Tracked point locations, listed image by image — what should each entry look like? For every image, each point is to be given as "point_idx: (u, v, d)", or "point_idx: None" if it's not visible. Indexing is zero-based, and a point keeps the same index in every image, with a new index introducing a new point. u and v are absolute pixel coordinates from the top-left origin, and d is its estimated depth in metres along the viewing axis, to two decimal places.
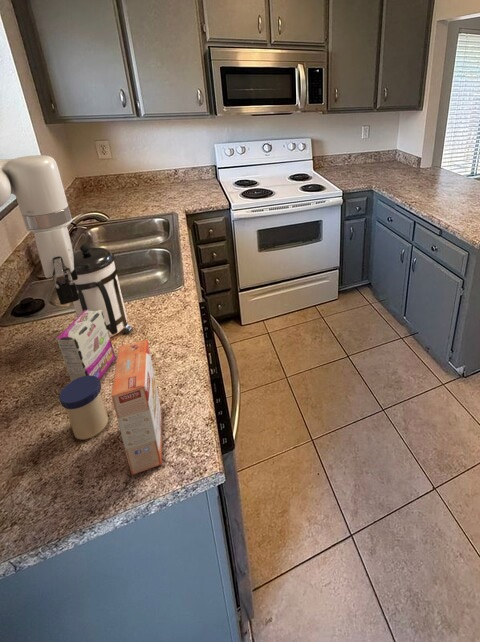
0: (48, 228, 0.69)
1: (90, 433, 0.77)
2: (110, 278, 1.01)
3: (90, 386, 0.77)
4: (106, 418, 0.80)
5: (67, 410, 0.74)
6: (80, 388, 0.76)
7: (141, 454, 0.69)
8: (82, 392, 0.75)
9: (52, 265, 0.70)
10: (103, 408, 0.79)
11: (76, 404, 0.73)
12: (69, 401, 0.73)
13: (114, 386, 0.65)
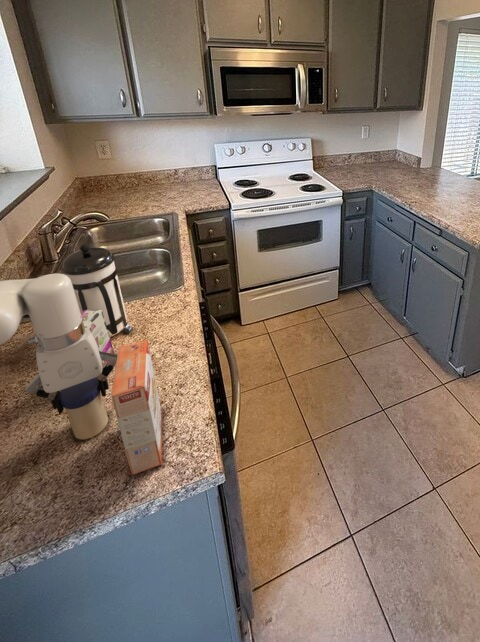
0: (85, 330, 0.73)
1: (90, 433, 0.77)
2: (110, 278, 1.01)
3: (90, 386, 0.77)
4: (106, 418, 0.80)
5: (67, 410, 0.74)
6: (80, 388, 0.76)
7: (141, 455, 0.69)
8: (82, 392, 0.75)
9: (100, 358, 0.76)
10: (103, 408, 0.79)
11: (76, 404, 0.73)
12: (69, 401, 0.73)
13: (114, 386, 0.65)
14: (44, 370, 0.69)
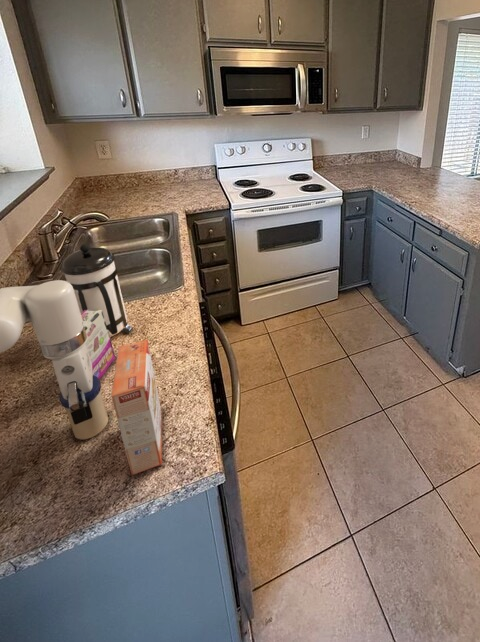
0: None
1: (90, 433, 0.77)
2: (110, 278, 1.01)
3: None
4: (106, 418, 0.80)
5: (67, 410, 0.74)
6: None
7: (141, 455, 0.69)
8: None
9: None
10: (103, 408, 0.79)
11: (99, 384, 0.78)
12: (95, 387, 0.76)
13: (114, 386, 0.65)
14: (85, 367, 0.72)
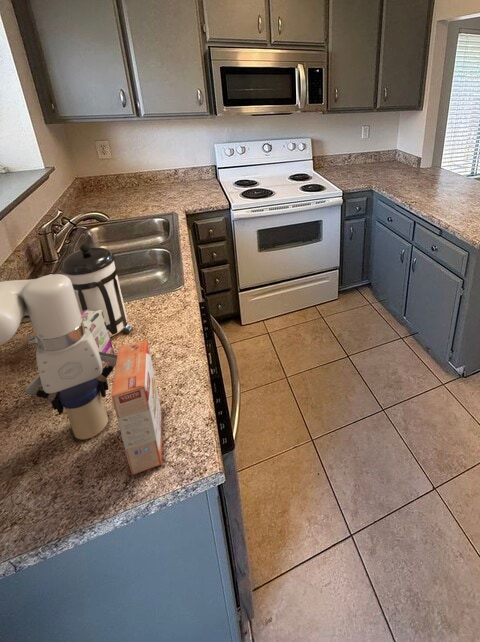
0: (85, 331, 0.73)
1: (90, 433, 0.77)
2: (110, 278, 1.01)
3: None
4: (106, 418, 0.80)
5: (67, 410, 0.74)
6: (79, 387, 0.76)
7: (141, 455, 0.69)
8: (87, 383, 0.77)
9: (100, 359, 0.76)
10: (103, 408, 0.79)
11: None
12: (95, 387, 0.76)
13: (114, 386, 0.65)
14: (44, 371, 0.69)
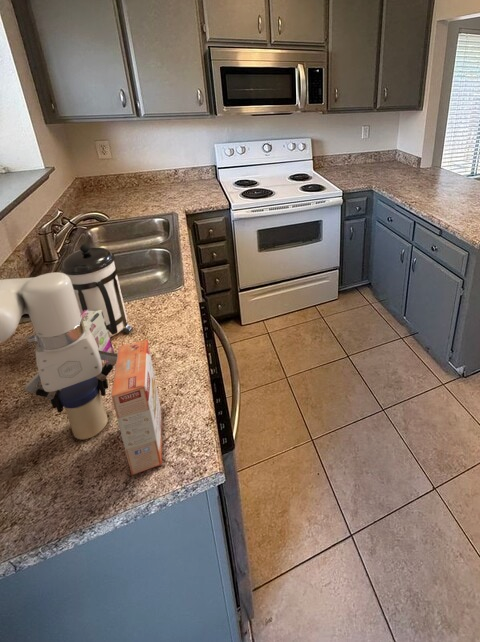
0: (85, 330, 0.73)
1: (90, 433, 0.77)
2: (110, 278, 1.01)
3: (67, 390, 0.75)
4: (106, 417, 0.81)
5: (67, 410, 0.74)
6: (78, 387, 0.76)
7: (141, 455, 0.69)
8: (75, 384, 0.77)
9: (100, 358, 0.76)
10: (103, 407, 0.79)
11: None
12: None
13: (114, 386, 0.65)
14: (43, 369, 0.69)
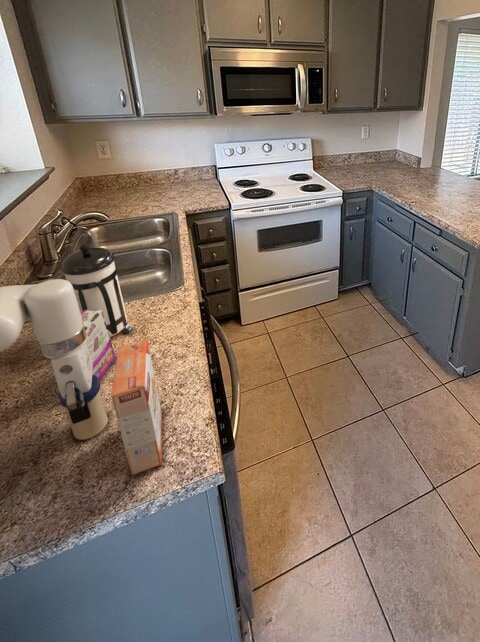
0: None
1: (91, 433, 0.77)
2: (110, 278, 1.01)
3: None
4: (106, 417, 0.81)
5: (67, 410, 0.74)
6: None
7: (141, 455, 0.69)
8: None
9: None
10: (103, 407, 0.79)
11: (59, 397, 0.75)
12: None
13: (114, 386, 0.65)
14: (83, 367, 0.72)
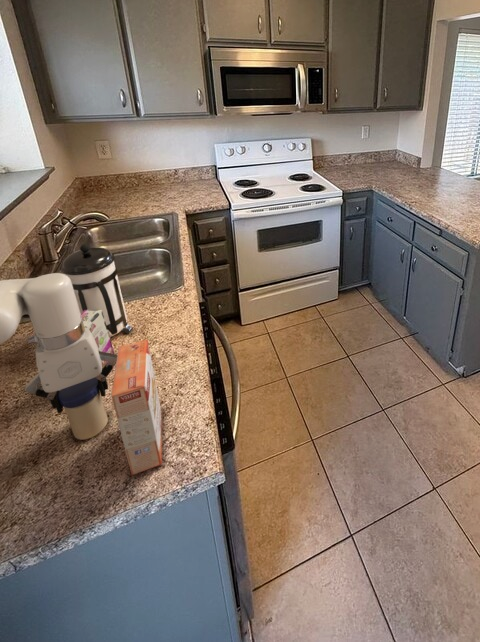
0: (85, 330, 0.73)
1: (91, 433, 0.77)
2: (110, 278, 1.01)
3: (77, 394, 0.74)
4: (106, 417, 0.81)
5: (67, 410, 0.74)
6: (78, 387, 0.76)
7: (141, 455, 0.69)
8: (70, 392, 0.75)
9: (100, 358, 0.76)
10: (103, 407, 0.79)
11: (59, 397, 0.75)
12: (61, 389, 0.75)
13: (114, 386, 0.65)
14: (43, 370, 0.69)
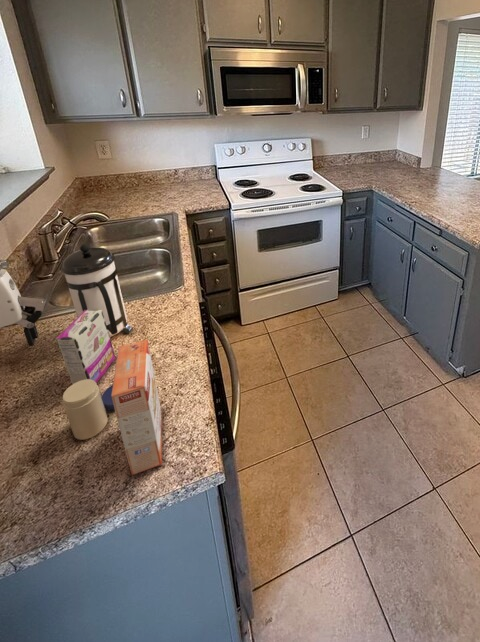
0: None
1: (91, 432, 0.77)
2: (110, 278, 1.01)
3: None
4: (106, 417, 0.81)
5: (67, 411, 0.74)
6: None
7: (141, 455, 0.69)
8: None
9: None
10: (103, 407, 0.79)
11: None
12: None
13: (114, 386, 0.65)
14: None
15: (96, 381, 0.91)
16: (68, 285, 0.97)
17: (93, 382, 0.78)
